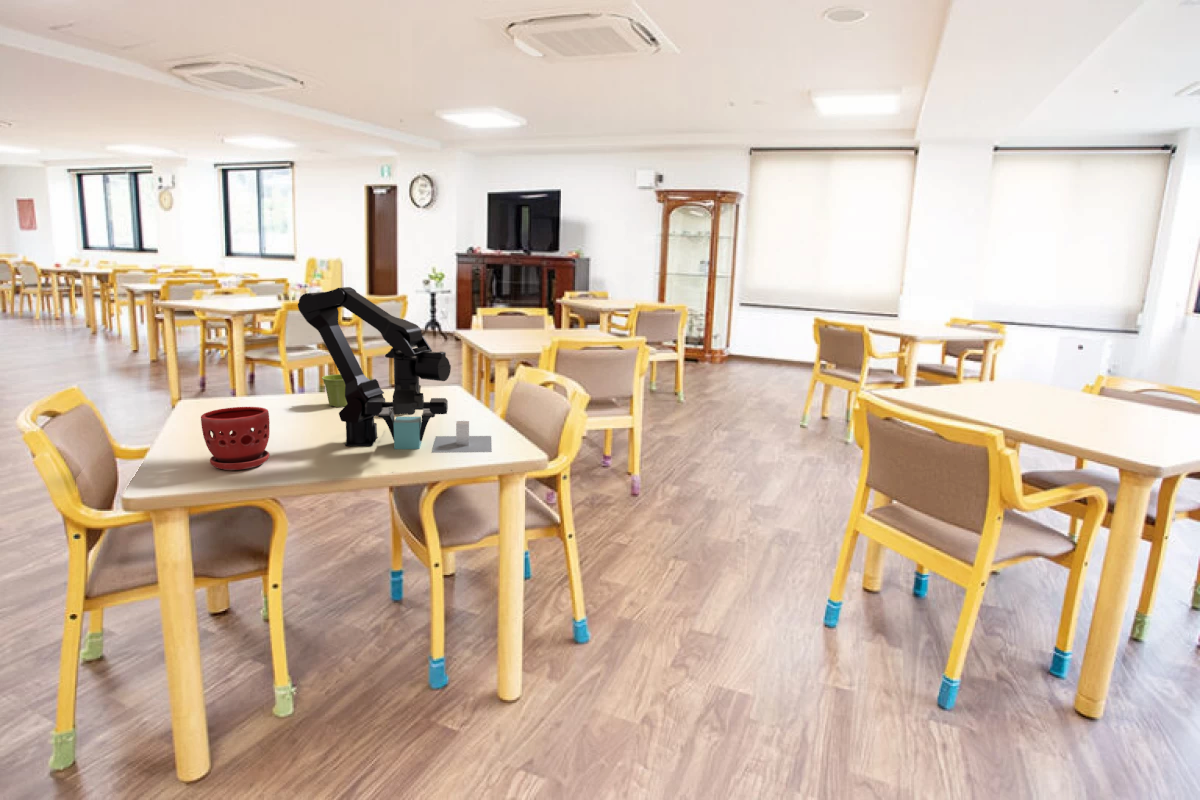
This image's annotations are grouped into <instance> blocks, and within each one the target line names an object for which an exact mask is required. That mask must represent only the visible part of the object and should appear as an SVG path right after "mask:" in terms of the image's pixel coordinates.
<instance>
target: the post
mask: <svg viewBox="0 0 1200 800" xmlns="http://www.w3.org/2000/svg"><path fill="white" fill-rule="evenodd" d="M455 422H456V424H455V426H456V427H455V429H456V430H455V432H456V433H455V436H456V446H465V445H469V436H470V421H469V420H457V421H455Z"/></svg>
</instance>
